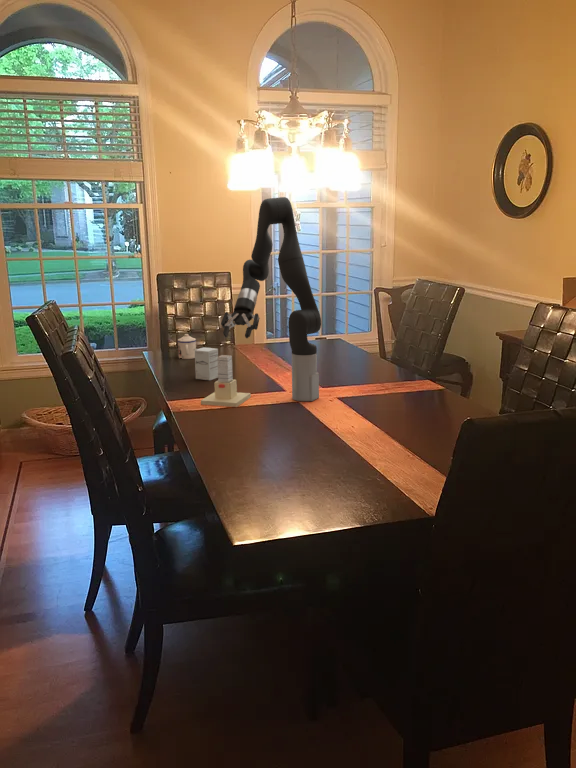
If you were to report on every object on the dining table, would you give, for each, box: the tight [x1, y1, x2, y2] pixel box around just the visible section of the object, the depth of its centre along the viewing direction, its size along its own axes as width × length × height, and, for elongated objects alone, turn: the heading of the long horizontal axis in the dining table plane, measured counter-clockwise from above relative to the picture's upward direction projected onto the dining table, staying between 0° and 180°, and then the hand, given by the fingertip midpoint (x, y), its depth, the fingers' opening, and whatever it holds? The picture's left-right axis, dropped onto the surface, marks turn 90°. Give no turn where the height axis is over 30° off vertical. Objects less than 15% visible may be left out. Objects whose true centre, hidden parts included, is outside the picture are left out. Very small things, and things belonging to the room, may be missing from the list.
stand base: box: [200, 379, 252, 408], centre depth 240 cm, size 14×14×8 cm
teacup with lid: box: [177, 333, 197, 360], centre depth 317 cm, size 12×9×12 cm
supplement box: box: [194, 347, 219, 381], centre depth 275 cm, size 7×7×13 cm
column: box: [217, 354, 234, 383], centre depth 239 cm, size 4×4×15 cm
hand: (235, 336), depth 247 cm, fingers open, 8 cm apart
